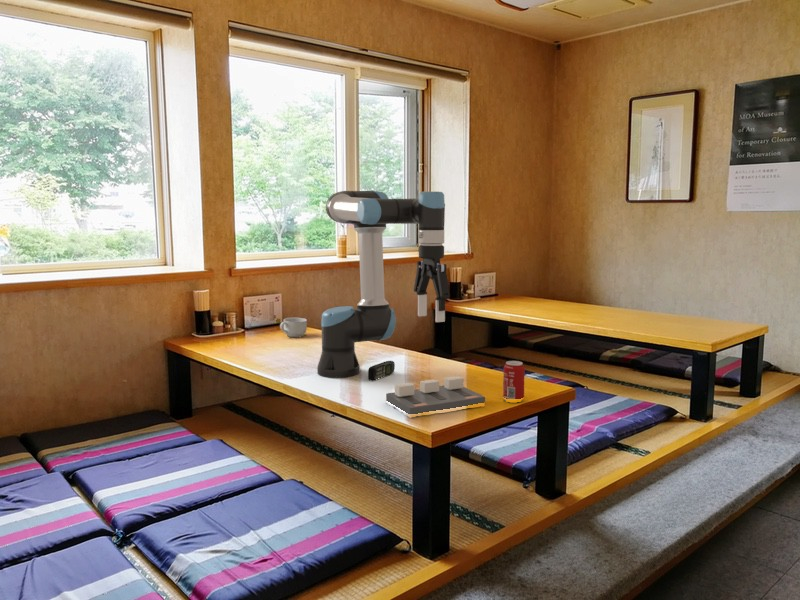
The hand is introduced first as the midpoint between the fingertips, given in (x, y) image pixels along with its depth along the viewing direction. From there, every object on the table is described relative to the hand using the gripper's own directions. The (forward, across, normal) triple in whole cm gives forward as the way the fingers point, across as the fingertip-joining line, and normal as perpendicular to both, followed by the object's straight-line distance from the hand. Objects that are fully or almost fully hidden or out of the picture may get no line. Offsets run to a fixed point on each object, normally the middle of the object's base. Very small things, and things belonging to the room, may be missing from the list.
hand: (430, 318), depth 193 cm
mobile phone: (+26, -34, 0) cm, 43 cm away
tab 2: (+22, -1, 0) cm, 22 cm away
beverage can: (+26, +10, +24) cm, 36 cm away
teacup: (+26, -117, -8) cm, 120 cm away
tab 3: (+22, -1, +9) cm, 24 cm away
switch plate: (+26, +3, 0) cm, 26 cm away
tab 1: (+22, -1, -8) cm, 24 cm away
